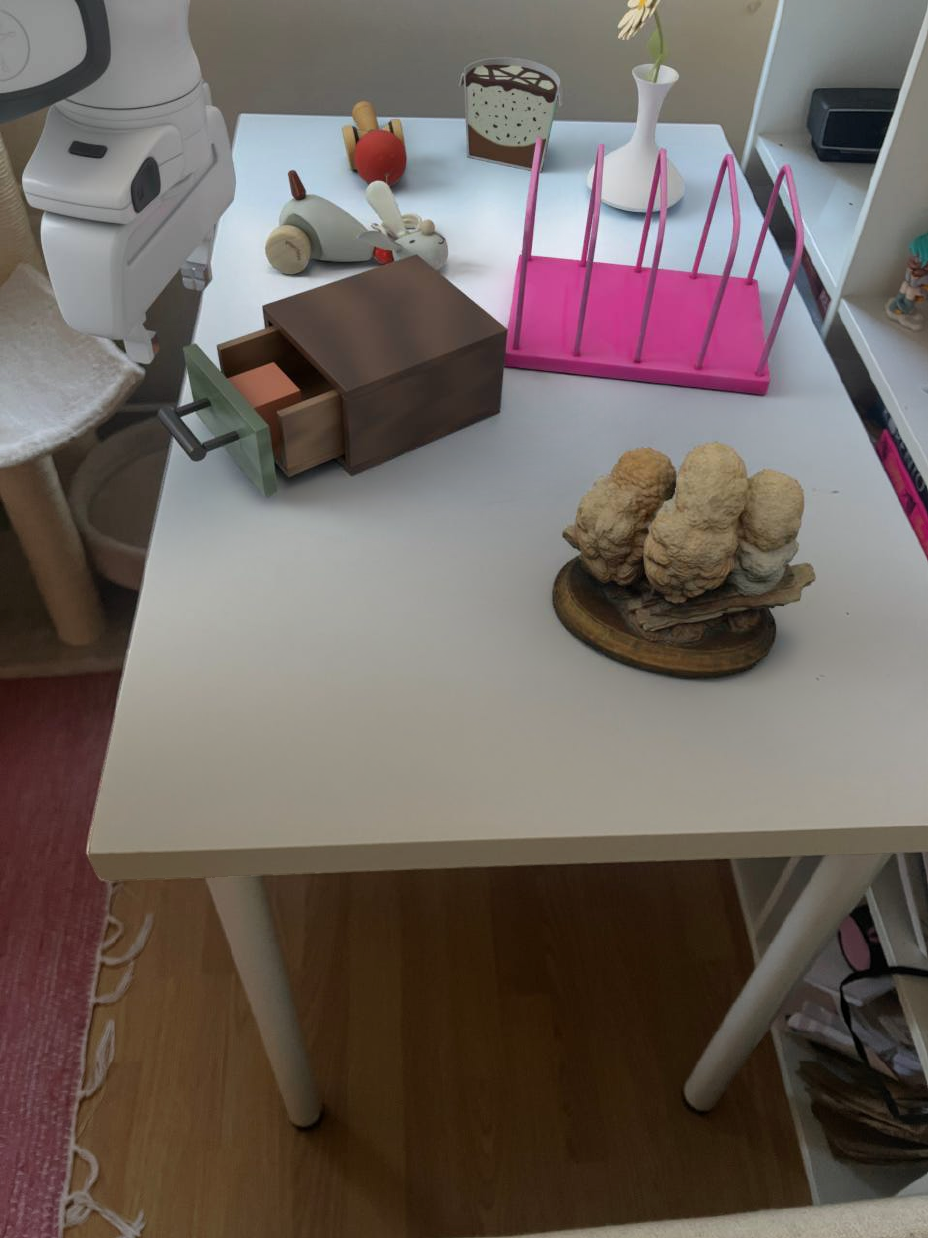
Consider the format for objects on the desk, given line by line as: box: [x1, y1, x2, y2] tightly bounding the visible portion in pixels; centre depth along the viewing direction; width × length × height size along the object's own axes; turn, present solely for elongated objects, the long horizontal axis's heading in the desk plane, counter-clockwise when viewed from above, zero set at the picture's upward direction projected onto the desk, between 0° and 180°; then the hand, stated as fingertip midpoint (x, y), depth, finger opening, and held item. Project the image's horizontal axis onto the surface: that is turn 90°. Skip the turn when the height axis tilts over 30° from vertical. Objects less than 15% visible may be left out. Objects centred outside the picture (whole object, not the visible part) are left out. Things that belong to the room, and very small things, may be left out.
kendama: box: [341, 100, 408, 187], centre depth 119 cm, size 8×6×18 cm
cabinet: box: [261, 254, 508, 477], centre depth 88 cm, size 16×14×9 cm
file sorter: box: [504, 137, 805, 395], centre depth 95 cm, size 17×25×16 cm
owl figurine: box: [551, 441, 817, 679], centre depth 70 cm, size 18×12×17 cm, turn 75°
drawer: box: [157, 325, 345, 498], centre depth 84 cm, size 19×13×7 cm, turn 126°
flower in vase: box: [586, 0, 685, 213], centre depth 108 cm, size 13×11×25 cm
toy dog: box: [264, 169, 449, 275], centre depth 103 cm, size 12×19×9 cm, turn 104°
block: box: [228, 362, 301, 446], centre depth 83 cm, size 4×4×4 cm
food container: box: [458, 57, 564, 174], centre depth 119 cm, size 12×6×10 cm, turn 71°
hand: (172, 319), depth 73 cm, fingers open, 8 cm apart
